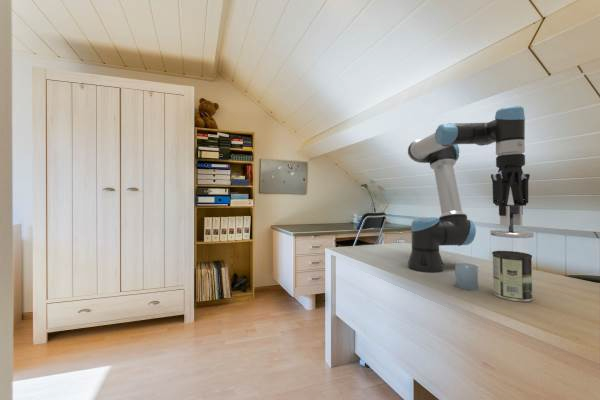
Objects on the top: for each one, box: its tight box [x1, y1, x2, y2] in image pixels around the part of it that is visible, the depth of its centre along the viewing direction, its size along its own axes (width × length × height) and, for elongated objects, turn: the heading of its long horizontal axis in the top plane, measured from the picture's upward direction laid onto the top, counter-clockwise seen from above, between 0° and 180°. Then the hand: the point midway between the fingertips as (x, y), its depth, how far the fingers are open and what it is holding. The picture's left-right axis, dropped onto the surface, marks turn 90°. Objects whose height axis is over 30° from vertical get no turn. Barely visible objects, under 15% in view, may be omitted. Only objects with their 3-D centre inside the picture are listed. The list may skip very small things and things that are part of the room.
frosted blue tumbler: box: [454, 262, 479, 292], centre depth 97 cm, size 7×7×8 cm
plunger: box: [490, 204, 534, 239], centre depth 88 cm, size 11×11×10 cm
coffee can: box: [491, 250, 533, 303], centre depth 88 cm, size 10×10×14 cm
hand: (510, 225), depth 88 cm, fingers closed on plunger, 4 cm apart
